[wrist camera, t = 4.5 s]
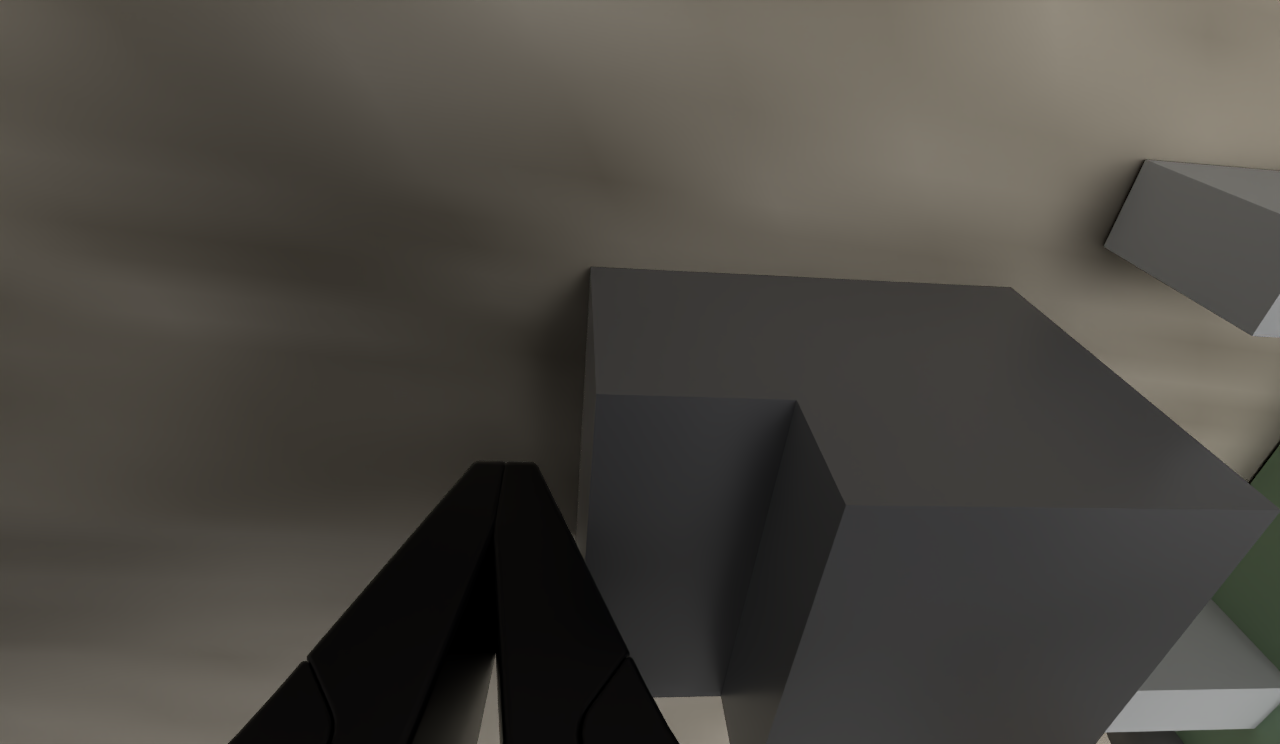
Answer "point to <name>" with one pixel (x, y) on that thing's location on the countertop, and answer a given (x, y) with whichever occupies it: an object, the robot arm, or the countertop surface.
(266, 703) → the robot arm
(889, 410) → the stepped grey block
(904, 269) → the countertop surface
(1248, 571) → the green toy cart
